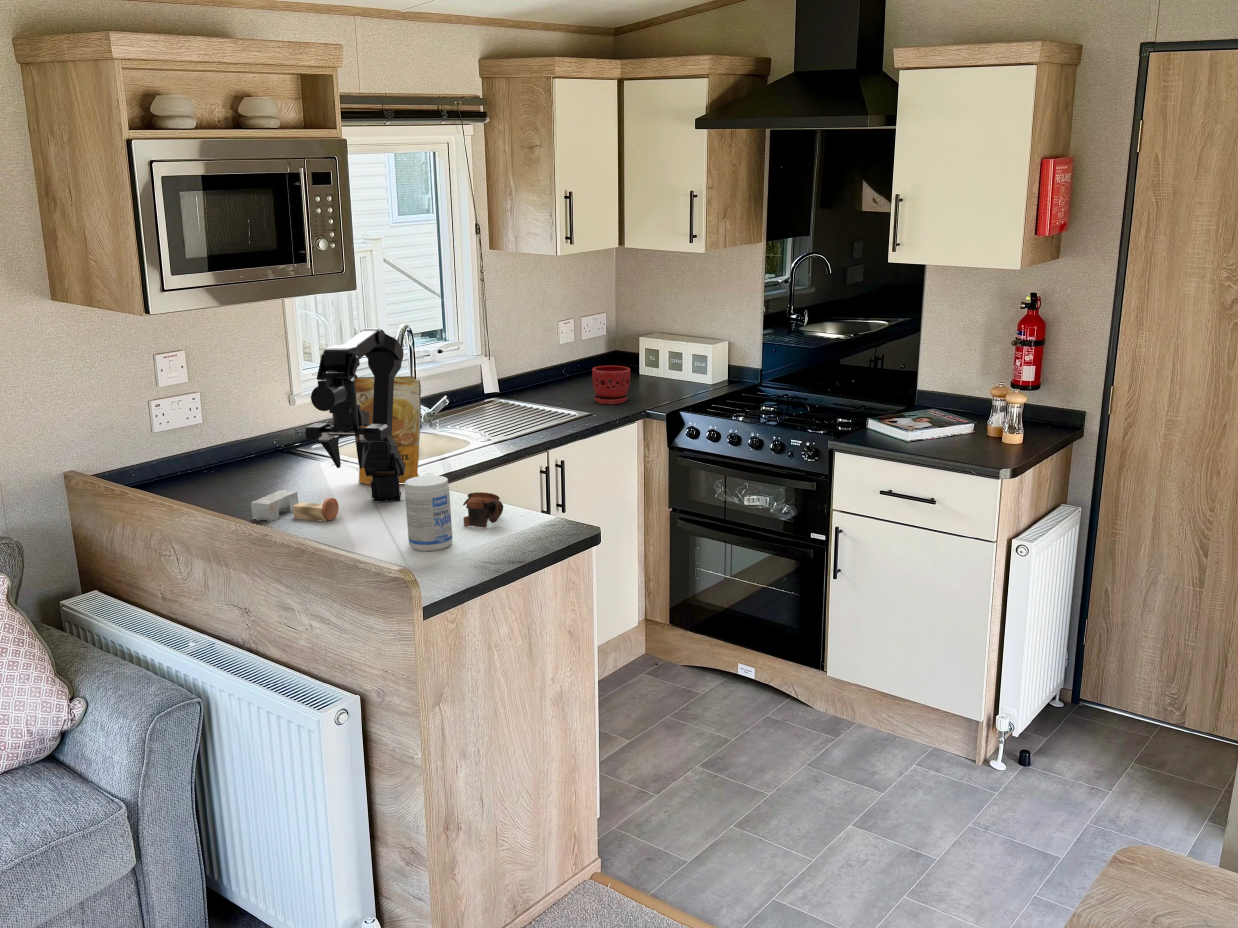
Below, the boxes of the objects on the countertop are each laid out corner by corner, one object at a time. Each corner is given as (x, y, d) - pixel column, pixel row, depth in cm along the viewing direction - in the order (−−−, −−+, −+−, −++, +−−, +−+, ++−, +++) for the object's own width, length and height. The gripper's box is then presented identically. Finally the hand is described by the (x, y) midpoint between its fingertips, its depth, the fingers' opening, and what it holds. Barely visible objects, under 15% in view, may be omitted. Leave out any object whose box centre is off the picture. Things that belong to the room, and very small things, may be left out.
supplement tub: (445, 553, 244) (440, 486, 240) (402, 552, 245) (397, 486, 242) (458, 538, 253) (454, 474, 249) (417, 537, 255) (412, 474, 251)
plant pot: (610, 407, 385) (609, 372, 382) (585, 402, 394) (584, 368, 391) (639, 401, 393) (638, 367, 390) (613, 396, 403) (612, 363, 400)
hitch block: (299, 508, 280) (297, 491, 279) (270, 521, 270) (268, 504, 269) (282, 506, 282) (280, 490, 281) (253, 519, 272) (251, 502, 271)
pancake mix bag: (358, 478, 305) (348, 375, 298) (428, 478, 304) (420, 374, 297) (351, 485, 299) (341, 380, 292) (422, 485, 297) (414, 379, 290)
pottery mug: (452, 527, 263) (456, 492, 265) (482, 535, 270) (485, 501, 272) (488, 522, 255) (491, 487, 258) (518, 531, 262) (521, 496, 264)
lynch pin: (339, 516, 272) (337, 495, 271) (326, 523, 268) (324, 501, 266) (304, 513, 276) (302, 492, 275) (291, 519, 271) (289, 498, 270)
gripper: (396, 395, 266) (401, 460, 270) (322, 394, 270) (328, 458, 274) (376, 405, 256) (382, 472, 260) (300, 404, 260) (306, 470, 264)
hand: (350, 468), depth 265 cm, fingers open, 5 cm apart
